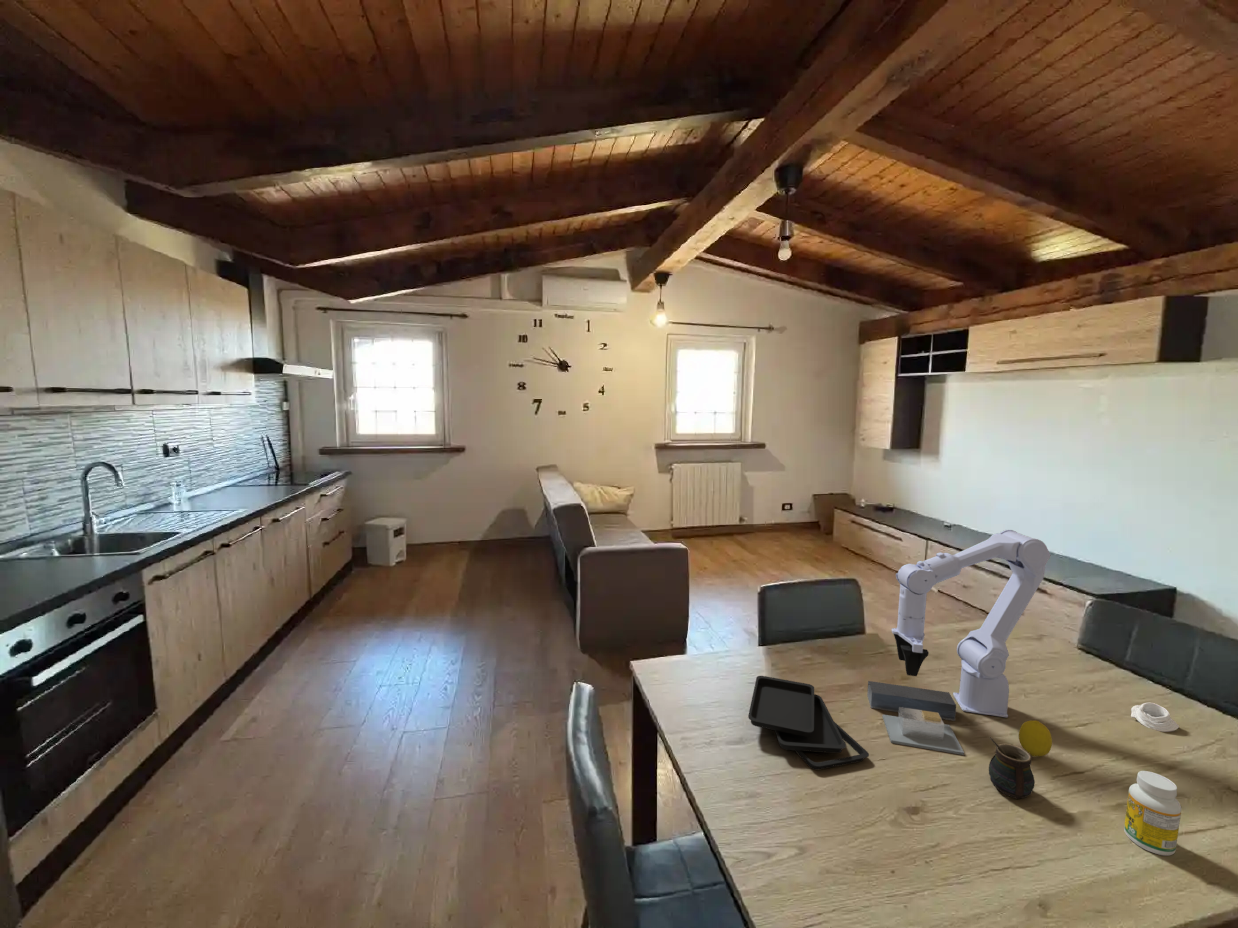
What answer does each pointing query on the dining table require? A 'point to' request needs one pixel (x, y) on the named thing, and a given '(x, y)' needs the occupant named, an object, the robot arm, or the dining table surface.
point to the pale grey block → (921, 724)
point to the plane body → (910, 699)
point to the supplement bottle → (1153, 813)
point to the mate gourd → (1011, 771)
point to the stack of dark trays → (800, 720)
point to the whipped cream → (1154, 717)
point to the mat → (948, 744)
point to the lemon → (1035, 738)
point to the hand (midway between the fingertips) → (907, 667)
